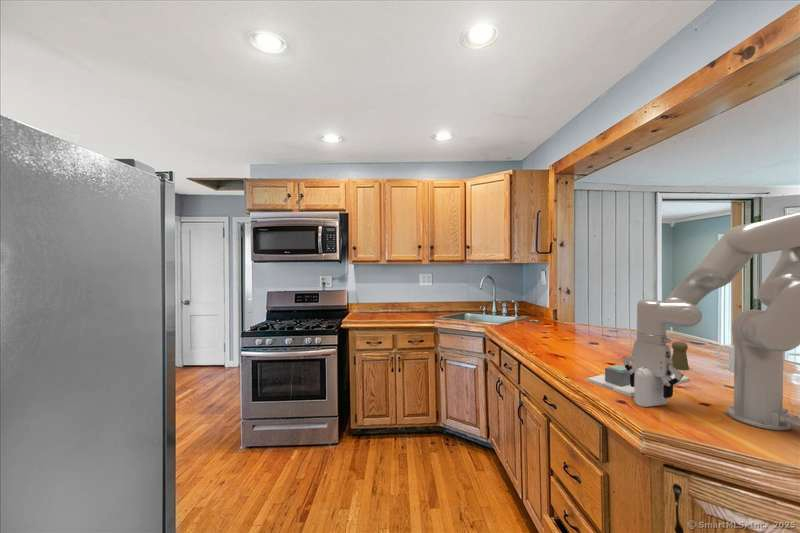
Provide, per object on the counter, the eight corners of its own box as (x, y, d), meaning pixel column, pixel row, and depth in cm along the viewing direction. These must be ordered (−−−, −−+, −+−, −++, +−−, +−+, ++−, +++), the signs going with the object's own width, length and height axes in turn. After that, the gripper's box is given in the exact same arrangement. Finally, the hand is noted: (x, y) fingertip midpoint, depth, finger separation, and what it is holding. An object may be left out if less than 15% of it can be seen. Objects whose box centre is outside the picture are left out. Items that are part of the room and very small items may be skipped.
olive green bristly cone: (687, 367, 141) (687, 341, 141) (690, 371, 136) (690, 344, 136) (669, 364, 144) (669, 339, 144) (671, 368, 139) (671, 342, 139)
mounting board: (689, 380, 126) (689, 355, 125) (630, 397, 112) (630, 368, 111) (644, 368, 140) (644, 345, 140) (587, 381, 126) (587, 356, 126)
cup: (716, 365, 143) (717, 342, 142) (757, 372, 134) (758, 347, 134) (715, 370, 137) (716, 346, 137) (758, 377, 128) (759, 351, 128)
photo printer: (656, 399, 110) (657, 362, 109) (670, 405, 105) (670, 366, 105) (631, 402, 107) (631, 365, 107) (644, 408, 103) (644, 369, 103)
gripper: (690, 343, 99) (689, 400, 100) (630, 332, 115) (630, 380, 116) (675, 346, 96) (674, 404, 97) (616, 334, 112) (615, 384, 113)
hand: (650, 391), depth 106 cm, fingers open, 9 cm apart
